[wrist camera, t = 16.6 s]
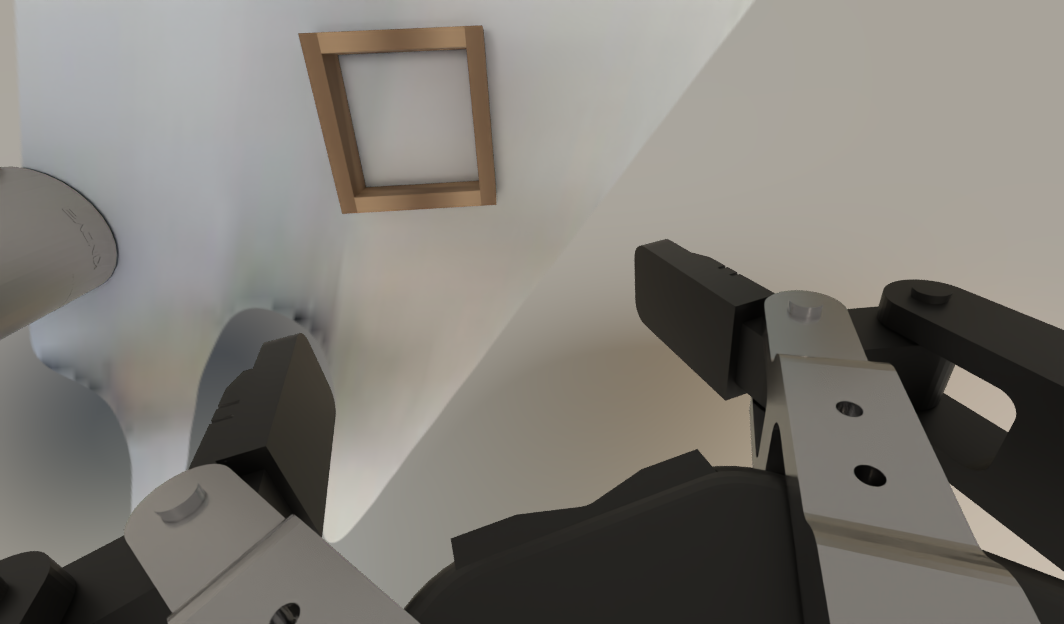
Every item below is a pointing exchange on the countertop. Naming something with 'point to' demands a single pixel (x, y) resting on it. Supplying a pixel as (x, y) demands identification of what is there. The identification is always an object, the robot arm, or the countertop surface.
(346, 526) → the countertop surface
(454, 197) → the shallow wooden tray
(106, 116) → the countertop surface
